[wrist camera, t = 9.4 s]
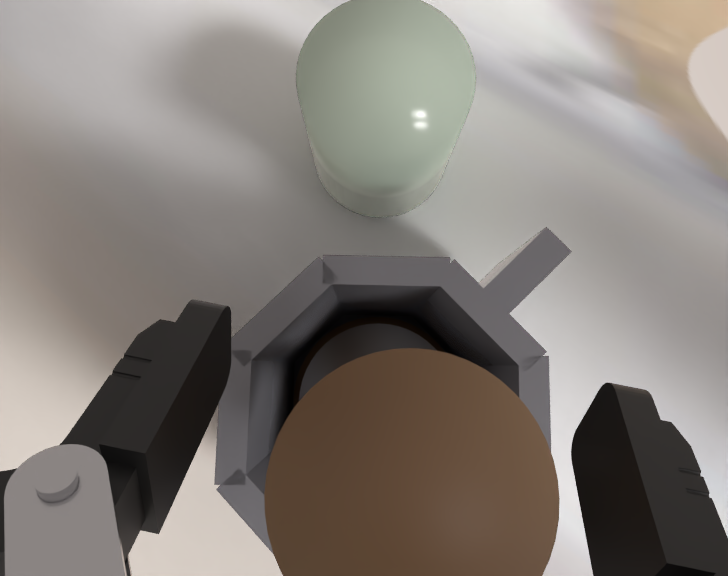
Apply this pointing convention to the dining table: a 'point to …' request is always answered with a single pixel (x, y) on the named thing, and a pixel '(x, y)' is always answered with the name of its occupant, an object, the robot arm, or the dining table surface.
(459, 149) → the dining table surface
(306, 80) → the sage green cylinder
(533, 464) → the plunger
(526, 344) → the coffee press pot
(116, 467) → the robot arm
